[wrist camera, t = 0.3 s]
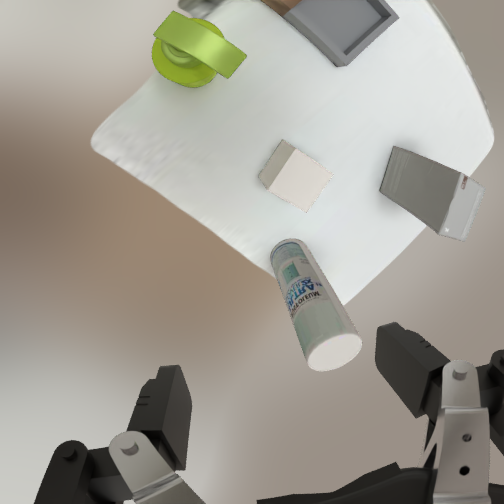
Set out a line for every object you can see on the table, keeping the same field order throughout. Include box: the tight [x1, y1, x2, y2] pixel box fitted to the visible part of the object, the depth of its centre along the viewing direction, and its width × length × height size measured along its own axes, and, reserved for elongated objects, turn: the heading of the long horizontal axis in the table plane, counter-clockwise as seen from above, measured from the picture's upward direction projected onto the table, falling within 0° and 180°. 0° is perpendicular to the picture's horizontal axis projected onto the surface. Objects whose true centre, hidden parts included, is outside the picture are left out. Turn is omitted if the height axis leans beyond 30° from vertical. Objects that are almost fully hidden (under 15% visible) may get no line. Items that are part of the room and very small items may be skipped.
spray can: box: [271, 239, 362, 371], centre depth 37 cm, size 6×6×20 cm
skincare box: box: [380, 146, 485, 241], centre depth 33 cm, size 8×7×16 cm
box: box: [283, 0, 399, 67], centre depth 25 cm, size 10×13×3 cm
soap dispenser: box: [152, 11, 247, 88], centre depth 20 cm, size 6×7×20 cm
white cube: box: [259, 140, 334, 213], centre depth 35 cm, size 6×6×6 cm
